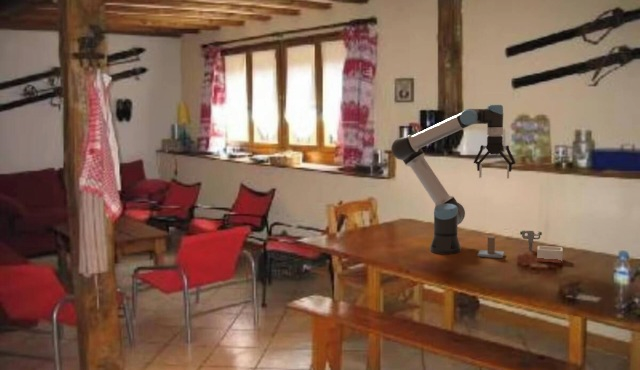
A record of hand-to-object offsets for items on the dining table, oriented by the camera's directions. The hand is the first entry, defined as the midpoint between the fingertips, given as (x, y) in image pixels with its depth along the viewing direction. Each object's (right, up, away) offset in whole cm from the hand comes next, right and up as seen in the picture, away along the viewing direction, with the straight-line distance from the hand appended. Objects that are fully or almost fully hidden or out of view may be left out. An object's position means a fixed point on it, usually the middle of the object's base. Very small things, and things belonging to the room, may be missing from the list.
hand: (494, 177), depth 324 cm
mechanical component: (+18, -37, -1) cm, 41 cm away
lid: (-4, -38, -11) cm, 39 cm away
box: (+20, -39, -21) cm, 49 cm away
